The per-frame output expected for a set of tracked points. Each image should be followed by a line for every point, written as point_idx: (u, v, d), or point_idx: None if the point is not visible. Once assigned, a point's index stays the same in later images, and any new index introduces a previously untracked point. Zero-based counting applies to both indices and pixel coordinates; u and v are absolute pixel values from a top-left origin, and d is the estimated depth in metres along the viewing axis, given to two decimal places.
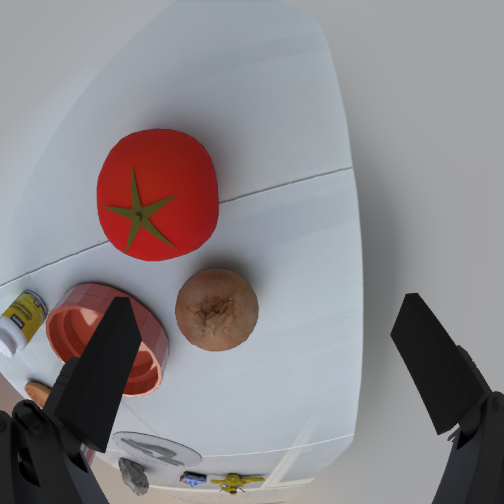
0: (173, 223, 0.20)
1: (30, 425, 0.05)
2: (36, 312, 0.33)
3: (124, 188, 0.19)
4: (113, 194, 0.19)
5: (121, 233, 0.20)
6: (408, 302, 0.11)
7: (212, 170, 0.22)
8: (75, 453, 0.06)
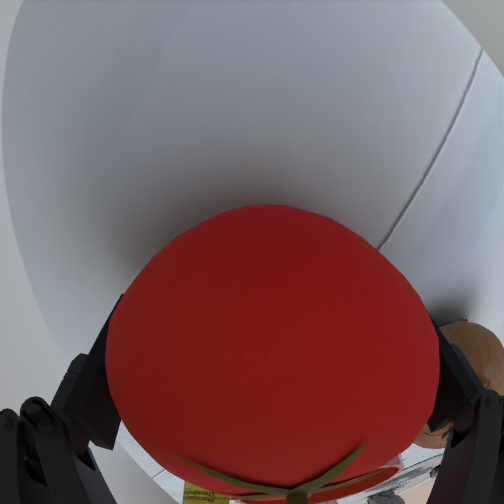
0: (387, 456, 0.05)
1: (39, 421, 0.05)
2: None
3: (212, 480, 0.05)
4: (201, 484, 0.06)
5: (278, 499, 0.07)
6: None
7: (374, 254, 0.07)
8: (83, 450, 0.06)
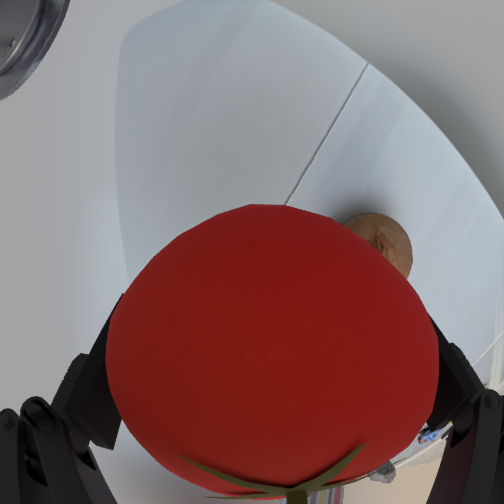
0: (387, 455, 0.05)
1: (39, 422, 0.05)
2: None
3: (212, 478, 0.05)
4: (201, 483, 0.06)
5: (278, 498, 0.07)
6: None
7: (373, 254, 0.07)
8: (84, 450, 0.06)
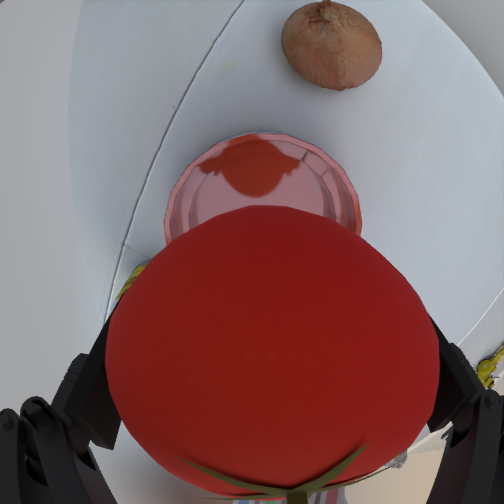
0: (387, 457, 0.05)
1: (39, 422, 0.05)
2: None
3: (212, 480, 0.05)
4: (201, 484, 0.06)
5: (278, 499, 0.07)
6: None
7: (374, 255, 0.07)
8: (84, 450, 0.06)
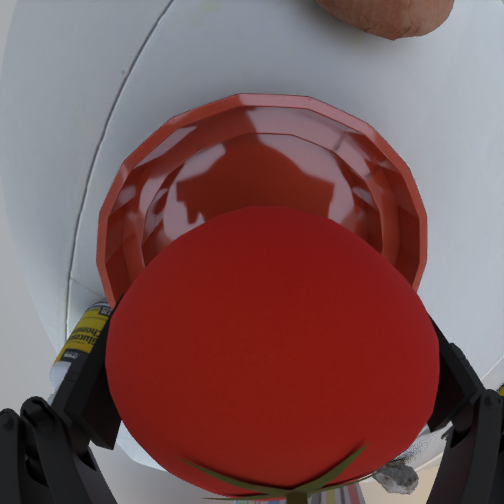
0: (387, 457, 0.05)
1: (39, 421, 0.05)
2: None
3: (212, 480, 0.05)
4: (201, 484, 0.06)
5: None
6: None
7: (374, 255, 0.07)
8: (84, 450, 0.06)
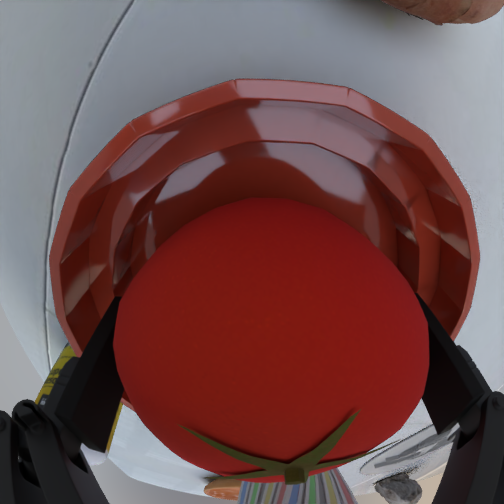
0: (380, 432, 0.06)
1: (31, 424, 0.05)
2: None
3: (213, 454, 0.06)
4: (202, 461, 0.07)
5: (277, 481, 0.07)
6: None
7: (362, 240, 0.07)
8: (75, 453, 0.06)
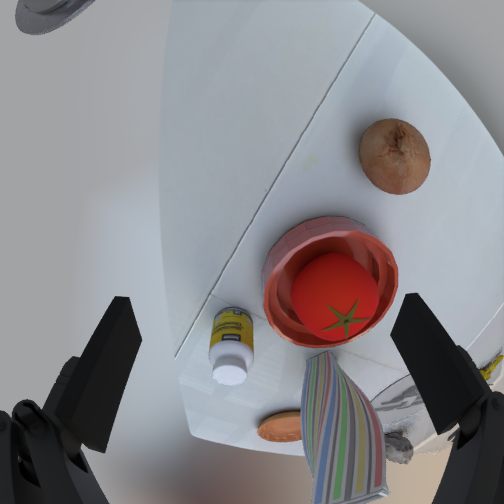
0: (365, 309, 0.31)
1: (30, 424, 0.05)
2: (242, 319, 0.41)
3: (328, 315, 0.31)
4: (323, 322, 0.32)
5: (339, 334, 0.32)
6: (408, 302, 0.11)
7: (359, 264, 0.32)
8: (75, 453, 0.06)
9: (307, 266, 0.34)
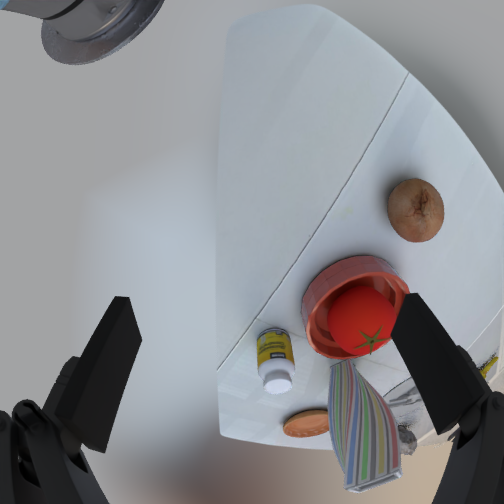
0: (386, 332, 0.38)
1: (30, 425, 0.05)
2: (284, 339, 0.48)
3: (359, 337, 0.38)
4: (355, 342, 0.38)
5: (366, 350, 0.39)
6: (408, 302, 0.11)
7: (382, 297, 0.39)
8: (75, 453, 0.06)
9: (342, 298, 0.41)
